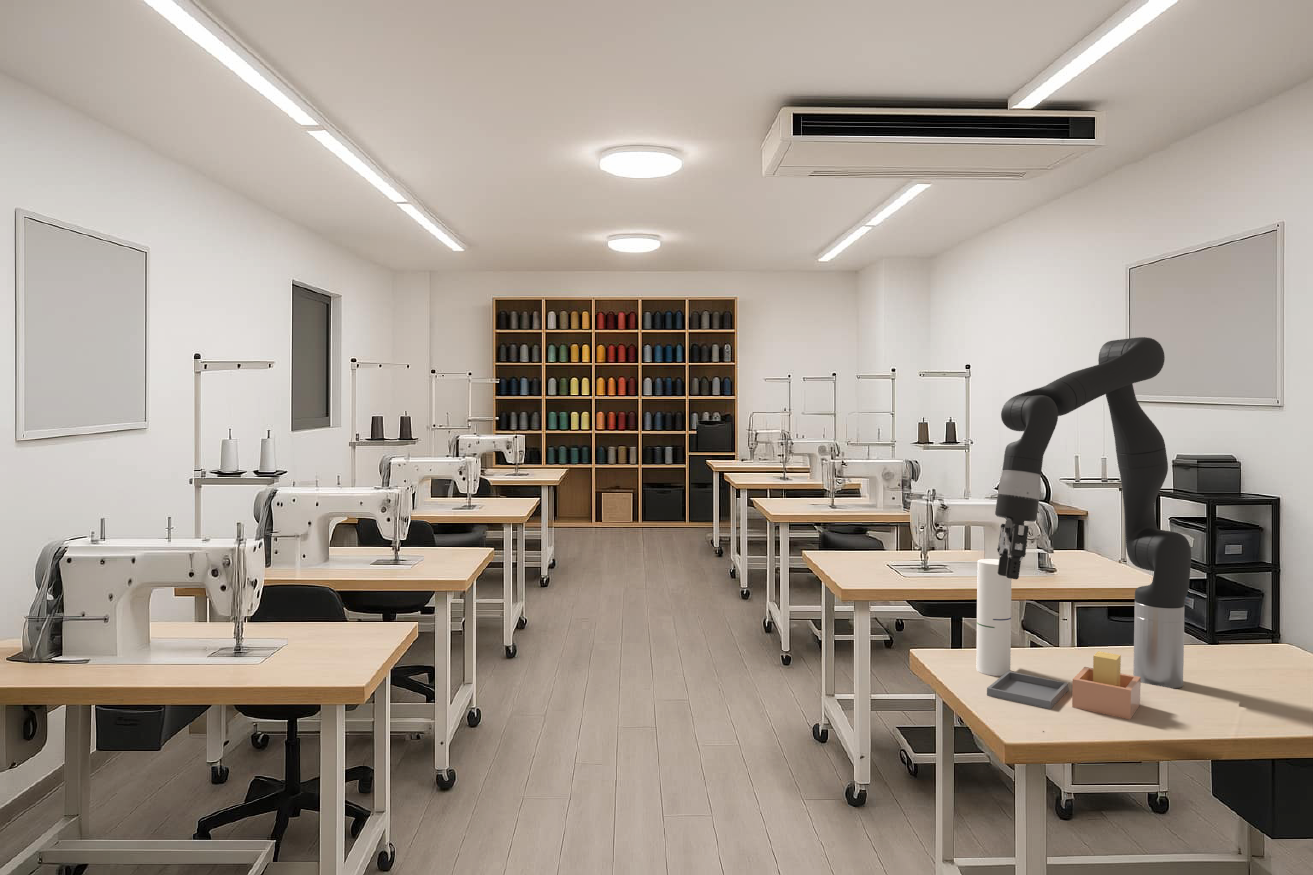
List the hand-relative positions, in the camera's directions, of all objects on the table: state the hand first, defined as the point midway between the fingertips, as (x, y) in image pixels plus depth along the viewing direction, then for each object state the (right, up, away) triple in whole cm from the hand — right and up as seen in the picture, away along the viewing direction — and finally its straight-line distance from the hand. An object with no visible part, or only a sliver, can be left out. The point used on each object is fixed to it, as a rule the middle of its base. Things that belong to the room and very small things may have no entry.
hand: (1007, 577), depth 158 cm
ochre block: (+20, -25, +1) cm, 32 cm away
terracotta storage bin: (+20, -26, +1) cm, 33 cm away
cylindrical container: (+8, -26, +25) cm, 37 cm away
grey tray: (+8, -26, +8) cm, 29 cm away
